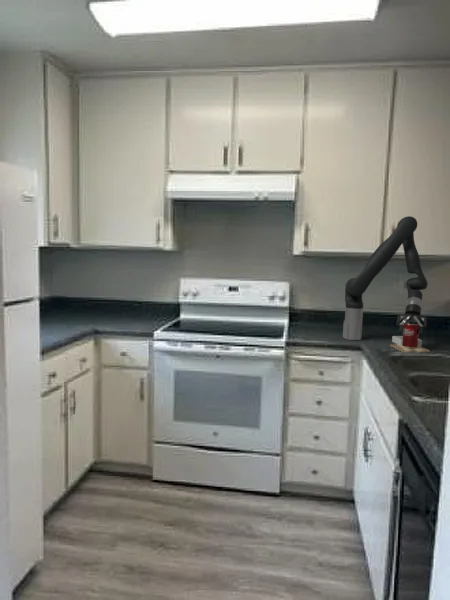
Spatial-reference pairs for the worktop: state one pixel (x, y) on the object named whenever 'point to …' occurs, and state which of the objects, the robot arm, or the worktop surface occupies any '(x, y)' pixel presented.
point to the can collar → (399, 340)
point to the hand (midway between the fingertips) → (410, 333)
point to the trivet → (403, 349)
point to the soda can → (410, 335)
